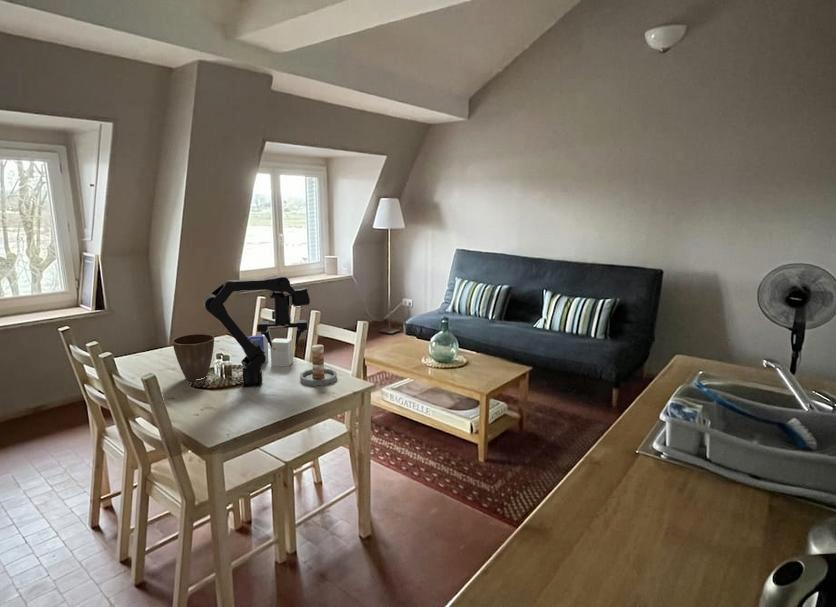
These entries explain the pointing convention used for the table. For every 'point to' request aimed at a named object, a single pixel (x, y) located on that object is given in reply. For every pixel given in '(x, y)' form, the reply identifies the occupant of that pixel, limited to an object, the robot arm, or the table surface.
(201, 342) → the plant pot
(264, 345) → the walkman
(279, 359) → the small box
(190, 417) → the table surface
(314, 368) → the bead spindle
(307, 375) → the round tray
